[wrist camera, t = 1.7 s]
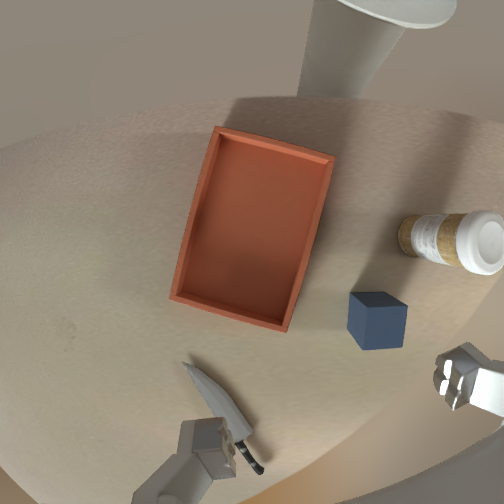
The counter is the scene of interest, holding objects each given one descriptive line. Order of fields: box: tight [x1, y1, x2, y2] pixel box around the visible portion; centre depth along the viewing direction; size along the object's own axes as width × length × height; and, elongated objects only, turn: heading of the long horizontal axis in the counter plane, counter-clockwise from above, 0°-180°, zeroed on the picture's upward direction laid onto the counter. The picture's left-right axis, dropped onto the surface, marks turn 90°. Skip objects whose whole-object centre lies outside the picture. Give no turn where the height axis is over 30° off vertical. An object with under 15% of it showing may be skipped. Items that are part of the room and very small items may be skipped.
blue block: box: [347, 292, 408, 350], centre depth 28 cm, size 4×4×6 cm
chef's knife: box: [182, 361, 264, 475], centre depth 32 cm, size 19×1×3 cm
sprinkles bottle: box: [398, 210, 504, 275], centre depth 23 cm, size 5×5×13 cm
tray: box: [169, 126, 336, 333], centre depth 29 cm, size 17×12×3 cm
